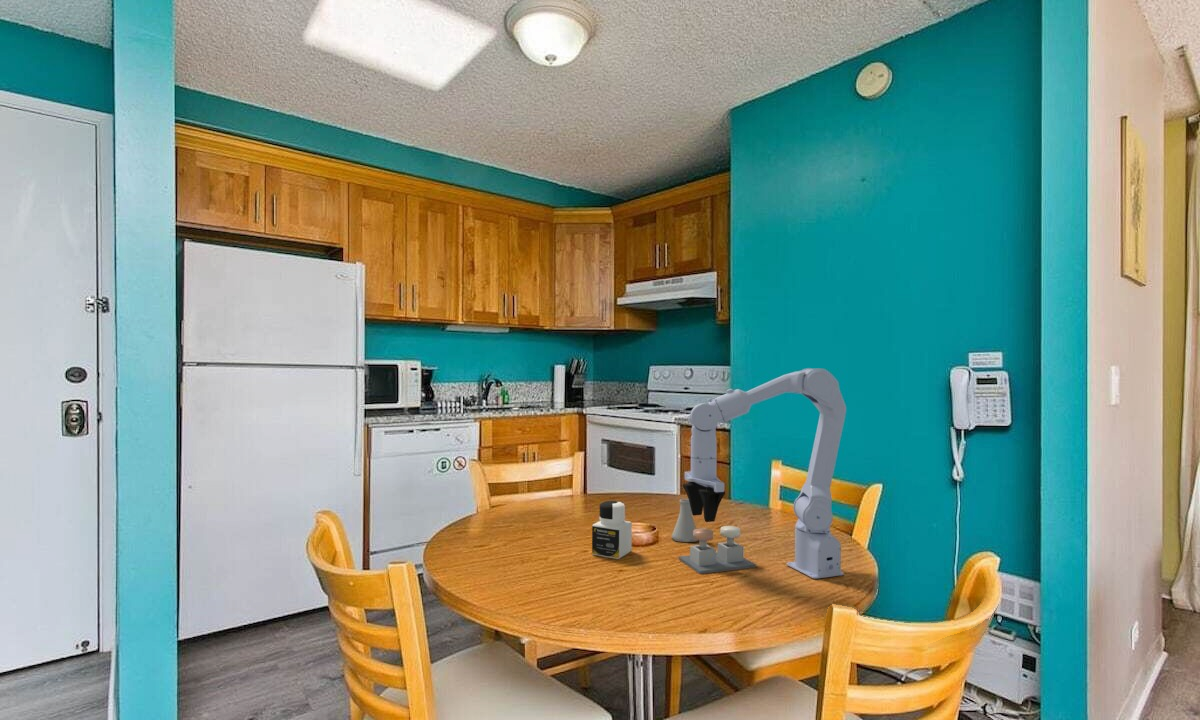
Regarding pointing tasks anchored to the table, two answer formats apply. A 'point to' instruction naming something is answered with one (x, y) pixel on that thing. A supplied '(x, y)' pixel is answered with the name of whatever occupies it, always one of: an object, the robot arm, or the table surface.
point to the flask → (684, 523)
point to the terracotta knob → (703, 537)
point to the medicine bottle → (611, 531)
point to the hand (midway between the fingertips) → (703, 518)
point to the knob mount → (716, 558)
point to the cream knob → (730, 534)
